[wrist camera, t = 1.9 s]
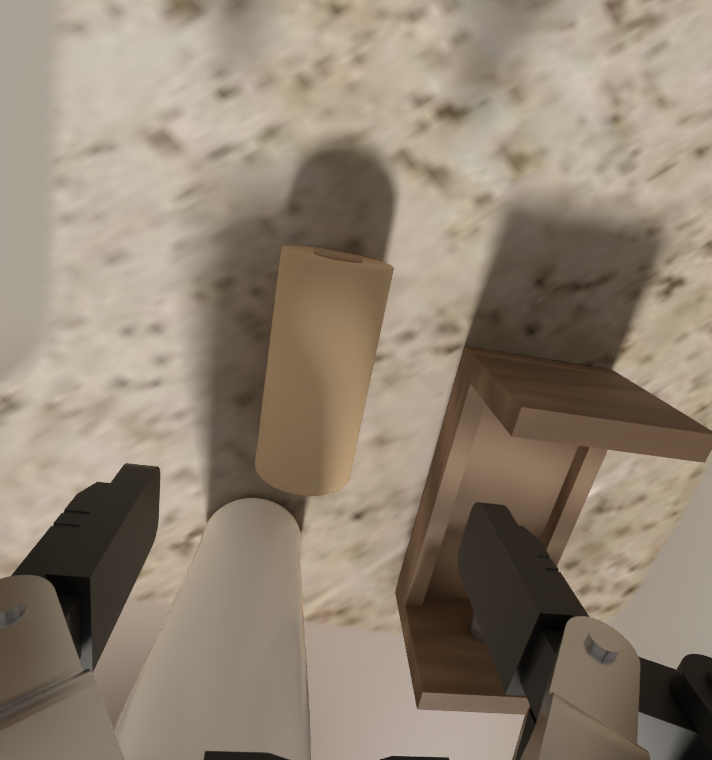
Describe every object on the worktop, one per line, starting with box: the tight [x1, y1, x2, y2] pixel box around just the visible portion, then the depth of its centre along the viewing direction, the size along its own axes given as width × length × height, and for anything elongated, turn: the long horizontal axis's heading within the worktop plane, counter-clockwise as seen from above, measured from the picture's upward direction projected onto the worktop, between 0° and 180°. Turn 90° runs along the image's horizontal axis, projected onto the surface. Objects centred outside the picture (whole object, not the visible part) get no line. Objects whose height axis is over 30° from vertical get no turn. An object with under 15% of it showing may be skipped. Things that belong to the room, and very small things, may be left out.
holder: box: [395, 346, 712, 715], centre depth 23 cm, size 16×8×7 cm, turn 170°
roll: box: [255, 245, 394, 496], centre depth 21 cm, size 10×5×5 cm, turn 170°
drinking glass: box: [114, 498, 311, 760], centre depth 19 cm, size 7×7×15 cm
